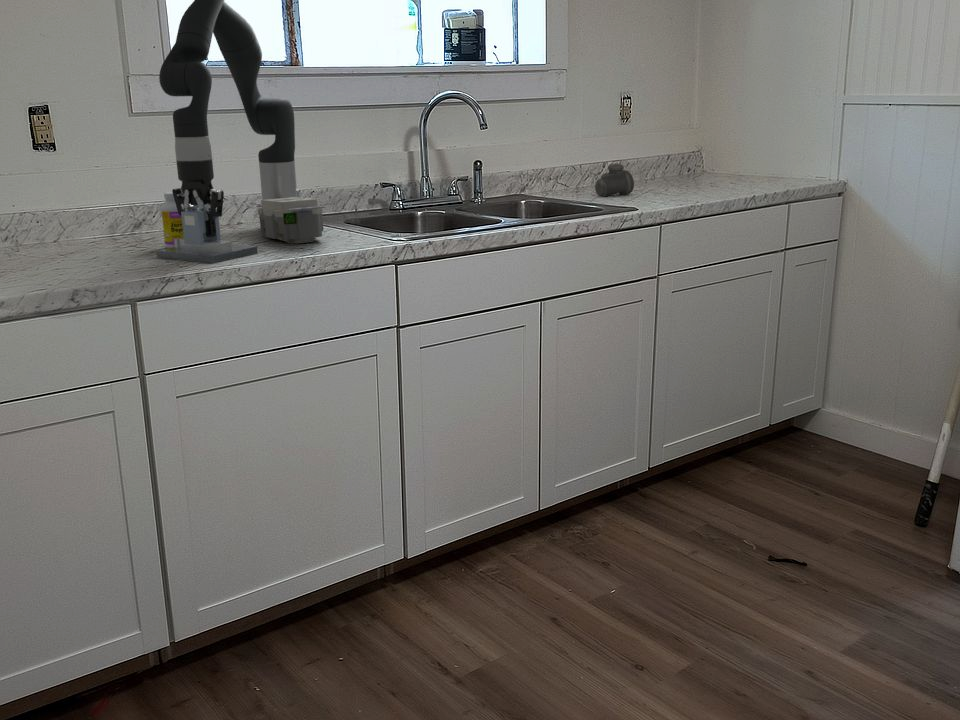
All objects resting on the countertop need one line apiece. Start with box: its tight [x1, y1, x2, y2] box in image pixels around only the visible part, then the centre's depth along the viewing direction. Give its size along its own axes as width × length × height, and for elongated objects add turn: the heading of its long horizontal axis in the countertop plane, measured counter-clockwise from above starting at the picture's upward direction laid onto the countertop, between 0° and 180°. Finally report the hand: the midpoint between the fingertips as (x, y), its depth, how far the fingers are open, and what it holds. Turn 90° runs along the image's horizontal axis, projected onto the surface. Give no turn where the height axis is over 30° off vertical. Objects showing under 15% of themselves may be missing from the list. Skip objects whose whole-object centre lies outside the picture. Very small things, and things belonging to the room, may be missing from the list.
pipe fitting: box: [594, 163, 635, 198], centre depth 301 cm, size 12×8×10 cm
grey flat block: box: [155, 237, 258, 264], centre depth 207 cm, size 14×17×4 cm
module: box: [181, 208, 222, 245], centre depth 204 cm, size 6×5×7 cm
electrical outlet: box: [256, 197, 326, 244], centre depth 227 cm, size 12×28×10 cm, turn 30°
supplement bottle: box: [160, 191, 184, 249], centre depth 217 cm, size 7×7×13 cm
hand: (202, 235), depth 205 cm, fingers closed on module, 5 cm apart
